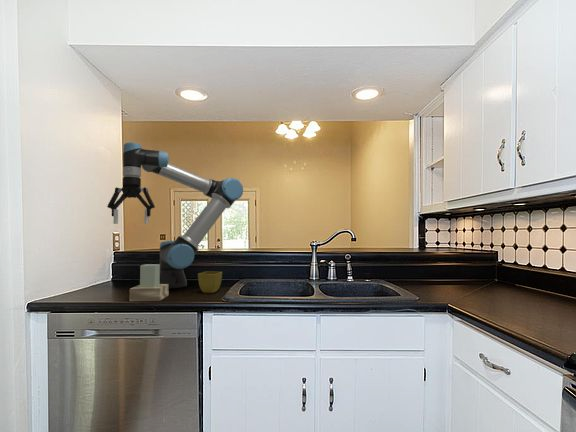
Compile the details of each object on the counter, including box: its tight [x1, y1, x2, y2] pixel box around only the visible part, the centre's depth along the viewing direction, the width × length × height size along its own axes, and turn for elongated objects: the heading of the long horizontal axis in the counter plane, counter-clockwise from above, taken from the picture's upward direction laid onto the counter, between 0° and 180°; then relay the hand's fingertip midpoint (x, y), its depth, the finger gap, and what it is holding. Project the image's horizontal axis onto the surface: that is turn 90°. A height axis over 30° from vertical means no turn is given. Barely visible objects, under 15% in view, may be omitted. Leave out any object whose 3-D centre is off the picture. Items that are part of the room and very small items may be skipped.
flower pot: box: [197, 271, 223, 294], centre depth 158 cm, size 9×9×9 cm
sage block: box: [139, 263, 160, 288], centre depth 144 cm, size 6×6×9 cm
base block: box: [128, 284, 170, 302], centre depth 144 cm, size 12×12×5 cm
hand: (131, 223), depth 154 cm, fingers open, 13 cm apart
